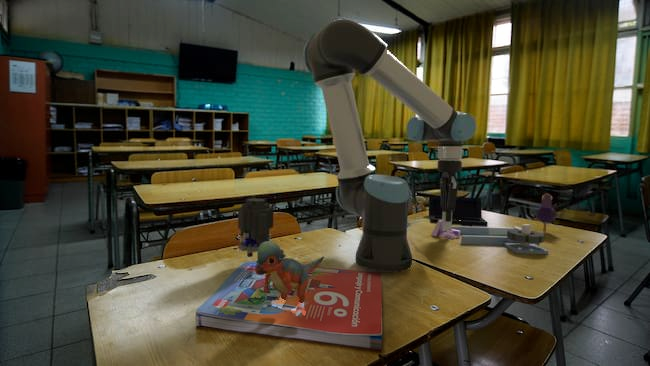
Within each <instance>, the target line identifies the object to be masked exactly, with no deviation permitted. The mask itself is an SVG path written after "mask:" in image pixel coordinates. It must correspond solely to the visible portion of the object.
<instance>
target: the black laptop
mask: <svg viewBox="0 0 650 366" xmlns="http://www.w3.org/2000/svg"><path fill="white" fill-rule="evenodd" d="M442 216H443V211H442V207H441V195H439V196H437V195H429V196H428V217H429V220H430V223H435V224H437V222H438V221H439V220H442ZM459 220H461V221H459ZM452 225H461V226H467V227H488V225H489V224H488V221H487V220H486V219H484V218H483V216H482V197H464V196H463V197H460V196H457V198H456V206H455V211H453V212H452Z"/></svg>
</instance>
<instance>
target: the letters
mask: <svg viewBox="0 0 650 366" xmlns="http://www.w3.org/2000/svg"><path fill="white" fill-rule="evenodd" d="M435 224H436V225H435V226H434V228H433V230H432V232H431V234H430V236H433V237H439V238H443V239H451V240H455V239H456V240H457V239H460V238H461V234H460V231H459V230H454V229H452V230H451V231H443V230H442V220H439V221H438V222H437V223H435Z"/></svg>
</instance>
